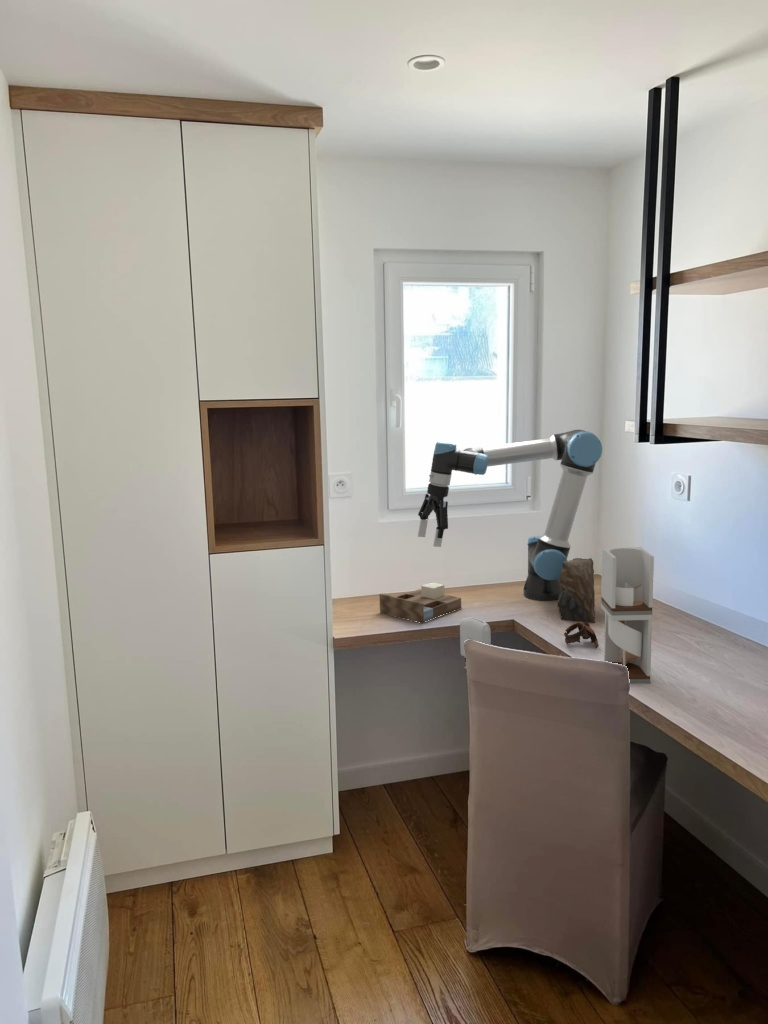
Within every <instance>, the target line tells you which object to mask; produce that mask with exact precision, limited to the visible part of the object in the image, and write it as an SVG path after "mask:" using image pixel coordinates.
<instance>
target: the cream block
mask: <svg viewBox="0 0 768 1024" xmlns="http://www.w3.org/2000/svg"><path fill="white" fill-rule="evenodd" d="M420 586H421V587H420V589H421V595H422V596H423V597H427V598H432V599H436V598H438V597H441V596H444V594H445V584H441V583H437V582H429V583H425V584H423V585H420Z"/></svg>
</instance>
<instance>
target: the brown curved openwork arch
mask: <svg viewBox="0 0 768 1024" xmlns="http://www.w3.org/2000/svg"><path fill="white" fill-rule="evenodd" d="M575 629H578V630H577V632H575V633H572V634H570V633H571V632H573V631H574V630H575ZM563 636H564V637H565V638H564V643H566V645H569V644H574V643H579V644H581V637H582V640H589V639H590V643H591V644H594V647H595V649H598V648H599V641H598V637H597V635H596V633H595V631H594V629H593V628H592V627H591V626H590V623H587V622H575V623H573V624H571V625H569V626H568V627H566V629H565V632H564V633H563Z"/></svg>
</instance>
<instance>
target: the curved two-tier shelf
mask: <svg viewBox="0 0 768 1024" xmlns="http://www.w3.org/2000/svg"><path fill="white" fill-rule="evenodd" d="M654 562H655V556H654V555H652V553H650V552H649V551H647V550H645V548H643V547H642V546H640V547H637V546H636V547H633V546H632V547H604V548H603V547H602V548H601V587H600V588H601V592H600V593H601V594H600V595H601V596H600V609H601V610H602V611H603V612H604V651H603V652H604V655H603V656H604V659H603V661H608V662H612V663H618V664H622V665H625V666H627V668H628V671H629V679H630V683H629V684H651V674H652V673H651V671H652V670H651V668H652V666H651V665H652V637H653V636H652V634H653V631H652V630H653V604H654V603H653V601H654V599H653V597H654V595H653V594H654V566H655V565H654V564H655V563H654Z"/></svg>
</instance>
